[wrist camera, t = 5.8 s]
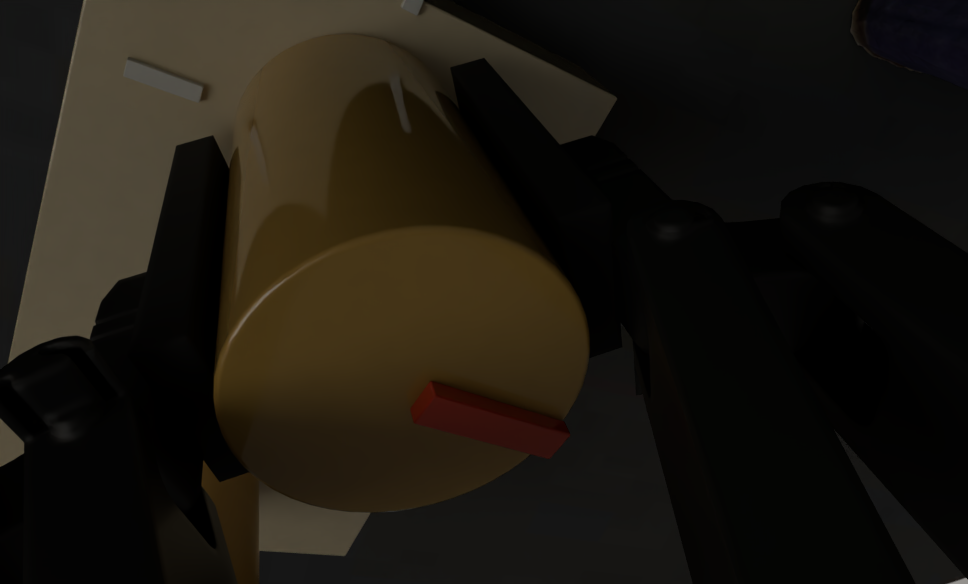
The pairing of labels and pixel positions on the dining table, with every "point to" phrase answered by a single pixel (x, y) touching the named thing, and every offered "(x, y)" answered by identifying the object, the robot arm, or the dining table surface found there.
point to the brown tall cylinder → (238, 520)
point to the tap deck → (224, 150)
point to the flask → (916, 35)
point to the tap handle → (382, 291)
